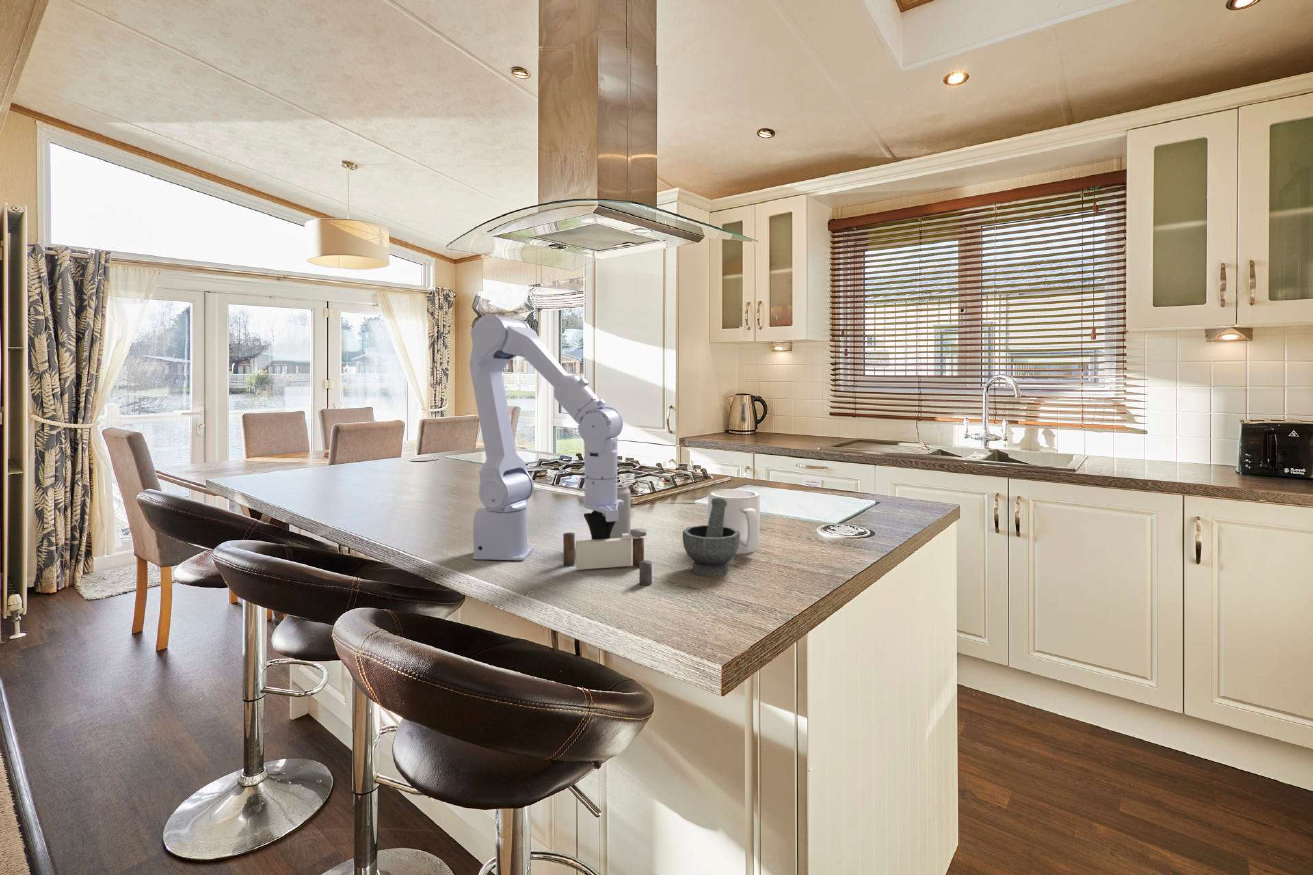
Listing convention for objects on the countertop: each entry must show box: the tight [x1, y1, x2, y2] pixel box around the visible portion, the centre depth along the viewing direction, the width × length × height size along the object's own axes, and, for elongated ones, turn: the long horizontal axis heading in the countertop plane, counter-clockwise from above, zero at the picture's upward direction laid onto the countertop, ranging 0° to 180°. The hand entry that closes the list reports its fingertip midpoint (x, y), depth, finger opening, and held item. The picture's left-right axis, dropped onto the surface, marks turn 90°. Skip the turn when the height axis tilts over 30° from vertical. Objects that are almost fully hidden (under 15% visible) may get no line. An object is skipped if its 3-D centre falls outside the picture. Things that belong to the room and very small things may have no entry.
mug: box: [707, 488, 761, 555], centre depth 124 cm, size 14×10×11 cm
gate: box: [575, 528, 647, 570], centre depth 112 cm, size 12×3×6 cm, turn 105°
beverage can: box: [610, 482, 632, 539], centre depth 127 cm, size 6×6×12 cm
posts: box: [562, 532, 653, 586], centre depth 108 cm, size 16×12×6 cm
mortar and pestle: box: [682, 498, 740, 577], centre depth 111 cm, size 11×9×12 cm
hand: (600, 552), depth 113 cm, fingers closed, pressing on gate
